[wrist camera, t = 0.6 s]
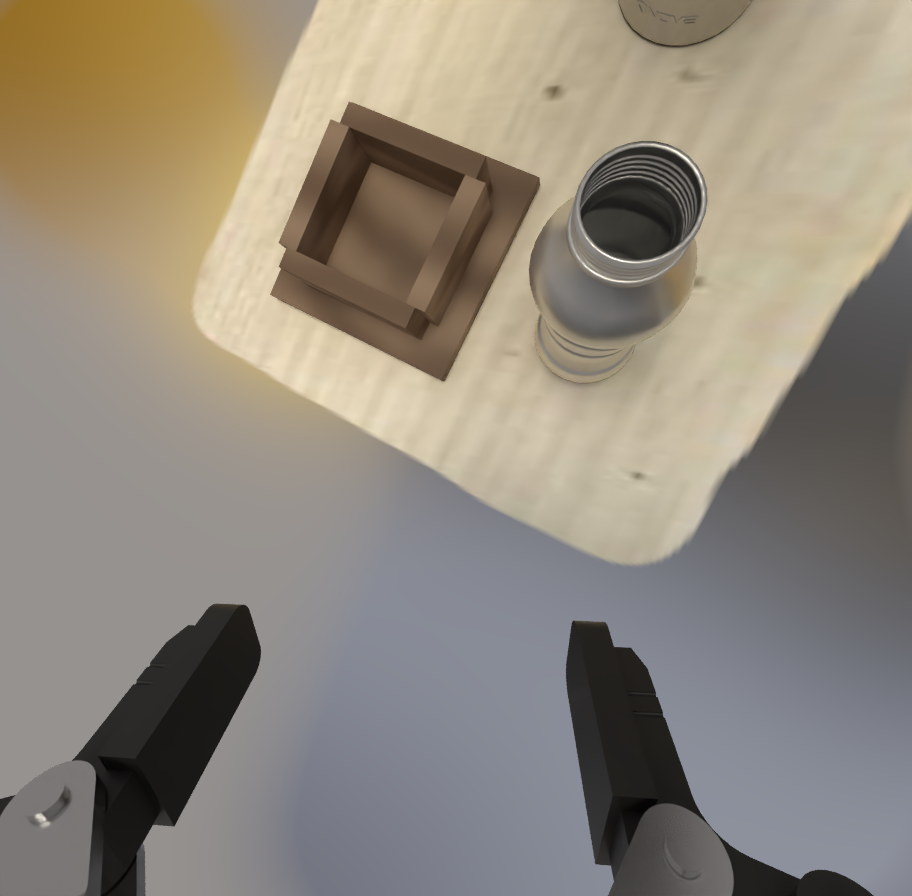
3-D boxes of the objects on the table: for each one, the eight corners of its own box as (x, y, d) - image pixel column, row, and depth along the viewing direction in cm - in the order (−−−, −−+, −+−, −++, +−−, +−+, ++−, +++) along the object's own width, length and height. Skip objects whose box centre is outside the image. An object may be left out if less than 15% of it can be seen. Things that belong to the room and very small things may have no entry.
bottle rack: (357, 111, 35) (327, 59, 30) (539, 185, 33) (539, 141, 28) (277, 298, 37) (237, 277, 32) (444, 381, 35) (427, 372, 30)
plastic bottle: (604, 401, 32) (702, 351, 13) (520, 364, 33) (488, 266, 14) (645, 318, 32) (814, 130, 12) (557, 283, 33) (580, 59, 13)
